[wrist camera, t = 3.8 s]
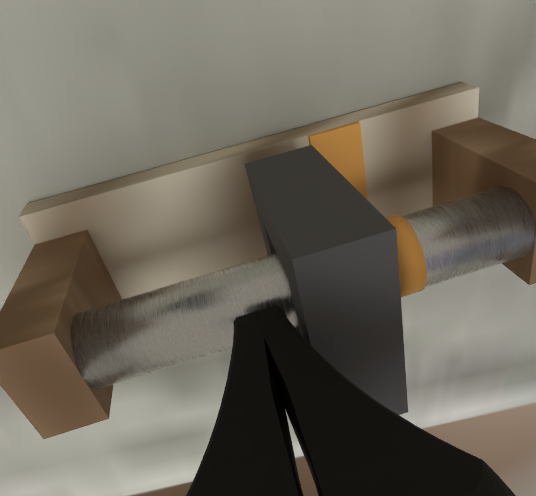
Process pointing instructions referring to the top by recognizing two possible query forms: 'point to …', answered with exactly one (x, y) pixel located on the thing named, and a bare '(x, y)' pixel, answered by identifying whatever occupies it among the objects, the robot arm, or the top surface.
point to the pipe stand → (245, 246)
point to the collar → (336, 268)
